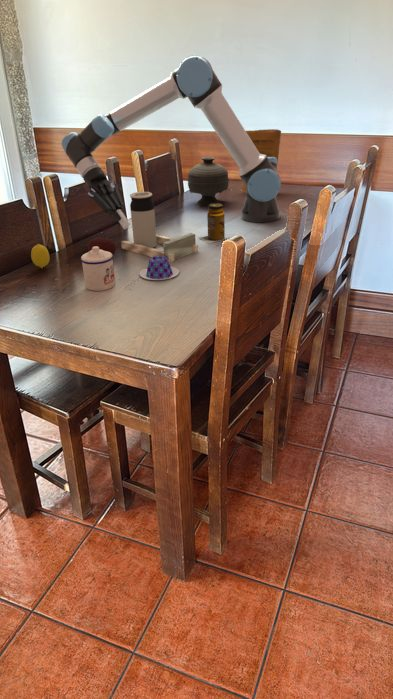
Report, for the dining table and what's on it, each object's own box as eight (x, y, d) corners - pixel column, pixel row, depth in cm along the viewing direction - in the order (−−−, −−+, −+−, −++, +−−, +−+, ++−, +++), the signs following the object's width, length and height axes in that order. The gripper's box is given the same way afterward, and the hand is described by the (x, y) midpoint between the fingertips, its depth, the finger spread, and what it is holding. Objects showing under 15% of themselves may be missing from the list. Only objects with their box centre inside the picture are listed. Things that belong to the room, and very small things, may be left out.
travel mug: (161, 245, 185) (157, 193, 177) (144, 251, 180) (140, 198, 172) (146, 241, 190) (142, 190, 181) (129, 247, 185) (124, 194, 176)
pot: (237, 198, 238) (234, 152, 227) (217, 211, 225) (213, 163, 215) (203, 196, 246) (199, 151, 236) (182, 208, 234) (177, 162, 224)
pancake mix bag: (277, 195, 243) (280, 130, 230) (237, 194, 248) (237, 130, 235) (279, 192, 249) (282, 128, 235) (240, 191, 254) (240, 128, 240)
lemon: (35, 272, 166) (31, 248, 163) (32, 267, 171) (27, 243, 167) (53, 269, 169) (49, 244, 165) (49, 264, 173) (44, 240, 169)
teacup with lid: (110, 292, 150) (105, 252, 145) (80, 291, 152) (74, 252, 146) (122, 276, 161) (118, 239, 155) (94, 275, 162) (89, 238, 156)
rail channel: (121, 248, 184) (120, 231, 181) (149, 239, 192) (147, 222, 189) (171, 262, 170) (169, 244, 167) (198, 251, 178) (197, 234, 175)
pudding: (135, 271, 165) (134, 255, 162) (172, 265, 168) (171, 249, 166) (145, 284, 155) (143, 267, 152) (184, 278, 158) (183, 262, 156)
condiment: (229, 238, 190) (229, 205, 184) (210, 243, 186) (209, 209, 180) (217, 234, 195) (217, 201, 189) (198, 238, 191) (197, 205, 185)
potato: (94, 251, 183) (92, 233, 180) (121, 253, 180) (119, 235, 177) (84, 258, 177) (81, 240, 174) (111, 260, 174) (109, 242, 171)
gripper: (102, 176, 197) (136, 228, 195) (73, 183, 189) (108, 237, 187) (109, 163, 191) (145, 216, 189) (80, 169, 183) (117, 224, 181)
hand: (127, 226), depth 188 cm, fingers closed
